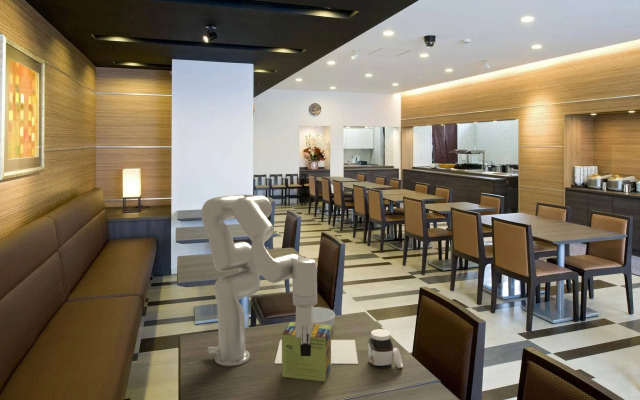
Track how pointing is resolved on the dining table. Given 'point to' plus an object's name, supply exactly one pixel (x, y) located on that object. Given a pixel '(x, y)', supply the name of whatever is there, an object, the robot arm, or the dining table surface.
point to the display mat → (333, 352)
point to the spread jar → (382, 350)
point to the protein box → (307, 365)
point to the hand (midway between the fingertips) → (305, 354)
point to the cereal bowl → (323, 316)
